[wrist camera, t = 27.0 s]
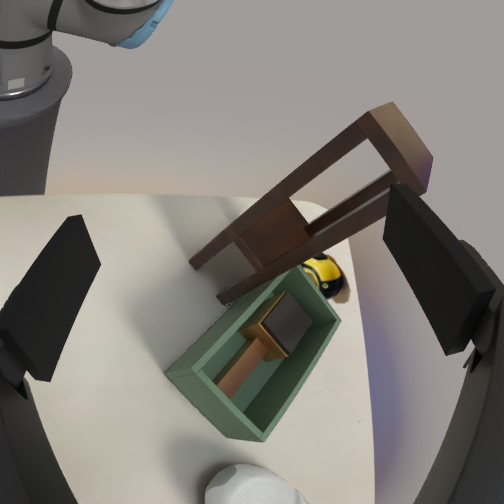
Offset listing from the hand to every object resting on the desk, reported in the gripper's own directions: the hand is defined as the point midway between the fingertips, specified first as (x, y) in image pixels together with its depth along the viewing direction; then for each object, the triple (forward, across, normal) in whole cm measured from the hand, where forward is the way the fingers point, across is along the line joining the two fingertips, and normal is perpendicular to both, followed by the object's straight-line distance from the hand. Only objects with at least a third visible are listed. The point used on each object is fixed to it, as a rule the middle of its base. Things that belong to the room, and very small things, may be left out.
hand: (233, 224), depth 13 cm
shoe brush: (+15, -2, -29) cm, 32 cm away
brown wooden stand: (+26, -3, -22) cm, 34 cm away
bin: (+15, -2, -29) cm, 33 cm away
